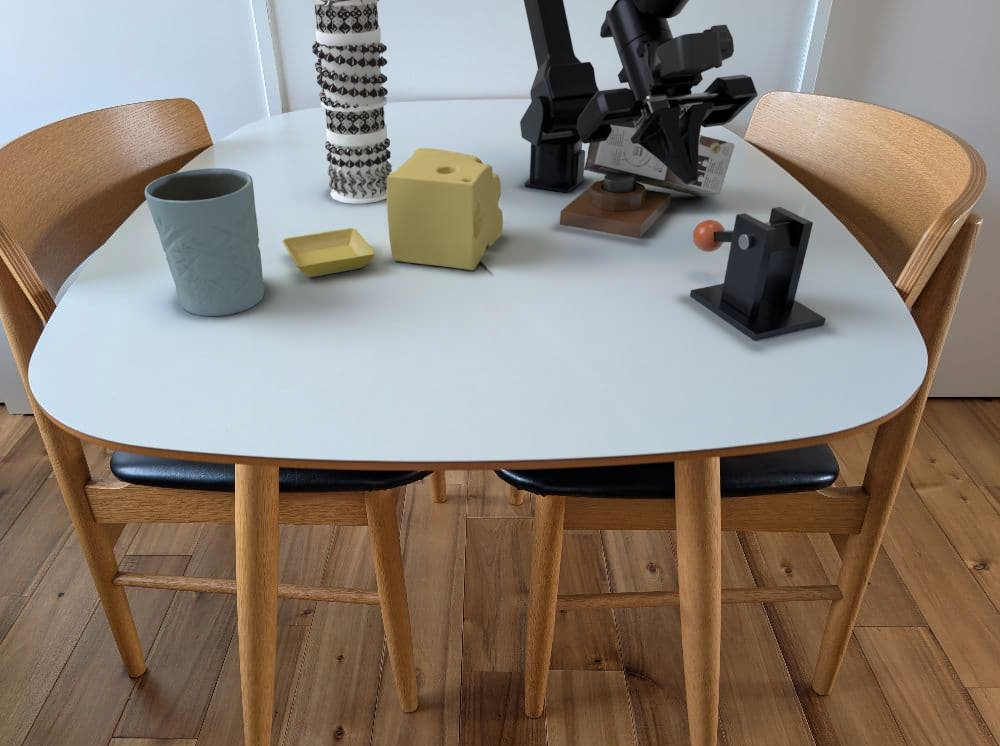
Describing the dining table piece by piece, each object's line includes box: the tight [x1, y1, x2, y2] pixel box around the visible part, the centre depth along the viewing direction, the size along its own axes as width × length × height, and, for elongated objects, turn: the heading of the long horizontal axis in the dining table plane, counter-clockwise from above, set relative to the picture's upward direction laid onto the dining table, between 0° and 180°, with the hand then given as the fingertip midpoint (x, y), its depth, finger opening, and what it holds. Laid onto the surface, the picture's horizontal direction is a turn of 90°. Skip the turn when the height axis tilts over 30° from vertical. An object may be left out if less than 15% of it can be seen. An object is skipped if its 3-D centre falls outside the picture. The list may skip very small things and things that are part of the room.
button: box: [603, 173, 635, 194], centre depth 97 cm, size 4×4×2 cm
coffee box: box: [584, 121, 735, 197], centre depth 101 cm, size 9×6×16 cm
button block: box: [559, 179, 672, 239], centre depth 99 cm, size 10×12×4 cm
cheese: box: [386, 147, 504, 271], centre depth 90 cm, size 10×11×10 cm
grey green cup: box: [144, 167, 265, 317], centre depth 80 cm, size 10×10×12 cm
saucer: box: [281, 227, 376, 278], centre depth 89 cm, size 9×9×2 cm
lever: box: [692, 219, 791, 253], centre depth 78 cm, size 12×3×3 cm, turn 22°
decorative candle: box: [311, 0, 393, 205], centre depth 102 cm, size 9×9×25 cm
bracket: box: [689, 206, 827, 342], centre depth 75 cm, size 10×8×10 cm
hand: (691, 182), depth 83 cm, fingers closed
